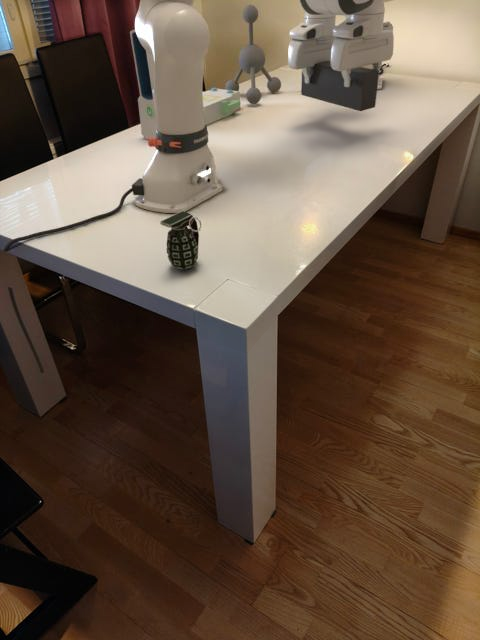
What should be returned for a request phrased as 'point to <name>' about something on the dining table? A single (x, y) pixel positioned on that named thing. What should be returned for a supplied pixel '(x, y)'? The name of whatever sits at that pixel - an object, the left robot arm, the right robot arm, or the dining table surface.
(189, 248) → the grenade
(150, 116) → the electronic device
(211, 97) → the decorative block
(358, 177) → the dining table surface
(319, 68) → the bar
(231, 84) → the molecular model
